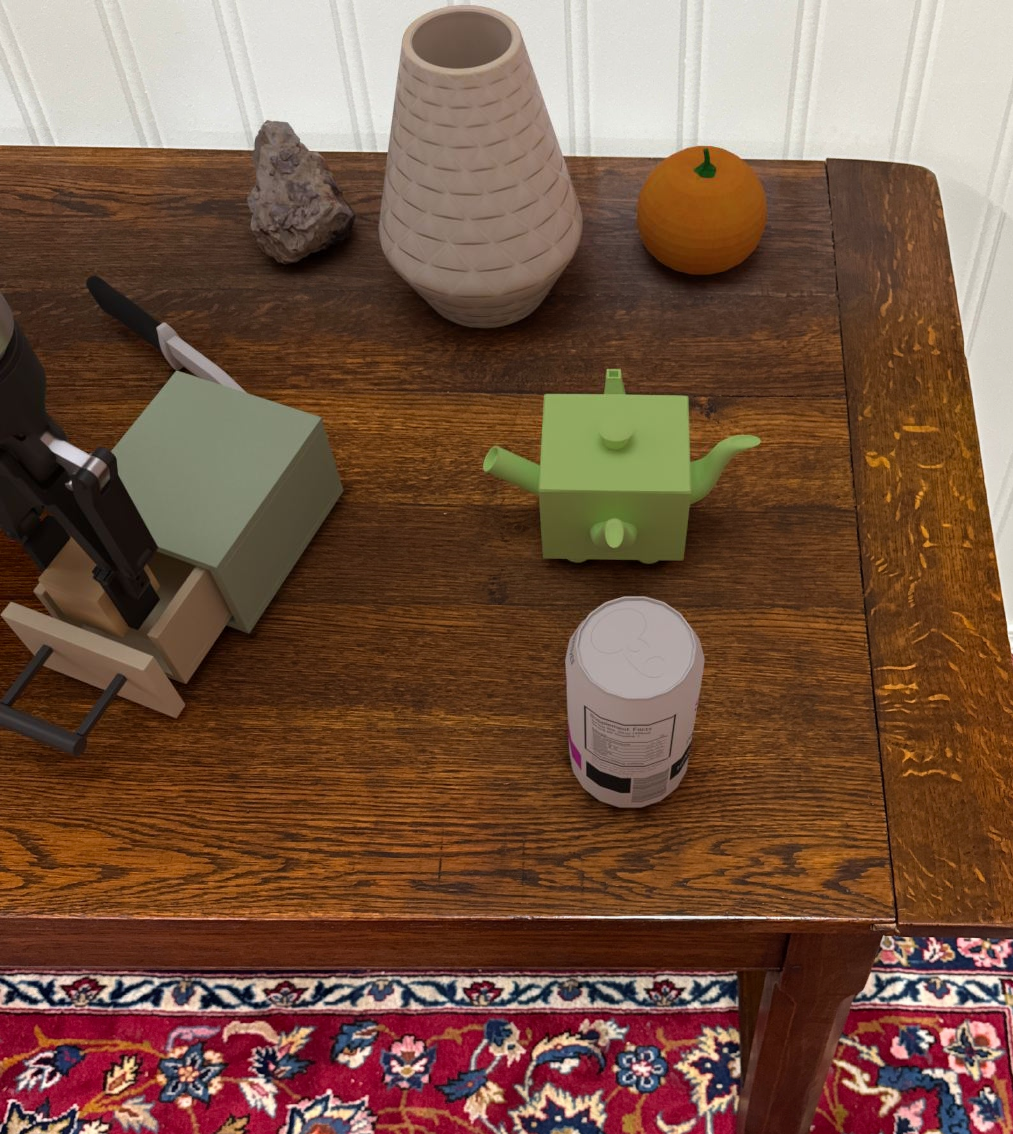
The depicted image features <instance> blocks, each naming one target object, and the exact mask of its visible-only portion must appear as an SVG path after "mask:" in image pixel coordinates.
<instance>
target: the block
mask: <svg viewBox="0 0 1013 1134" xmlns="http://www.w3.org/2000/svg"><path fill="white" fill-rule="evenodd" d="M95 566H96V564H95V563H94V562H93V560H92V559H91V558H90V557H89V556H88V555H87V554H86V553H85V551H84V550H83V549H82V548H81V547H80V546H79V545H78V544H77V542H76V541H75V540H74V539H73V538H72V537H71V536H70V539H69V541H68V542H67V543H66V545H65V546H64V547H63V548H62V550H61V551H60V552H59V553H58V555H57V556H56V557H55V558H54V560H53V561H52V562H51V563H50V565H49V566H48V567H47V569H46V570H45V571H44V572H43V573H42V572H41V575H39V577H38V579H37V580H38V582H39V583H41V584H42V586H43V587H44V588H45V590H46V591H47V592H48V594H49V595H50V596H51V598H52V599H53V600H54V602H55V603H56V604H57V606H58V607H59V608H60V610H61V611H62V612H63V614H64V615H65V616H66V617H67V618H69V619H72V620H74V621H77V622H80V623H82V624H85V625H87V626H90V627H93V628H95V629H98V630H100V631H103V632H106V633H108V634H111V635H113V636H116V637H119V638H121V639H123V638H124V636H125V635H126V634H127V632H128V631H129V629H130V627H129V626H128V625H127V623H126V622H125V620H124V619H123V617H122V616H121V614H120V613H119V611H118V610H117V608H116V607H115V605H114V604H113V602H112V601H111V599H110V598H109V596H108V595H107V593H106V592H105V591H104V589H103V588H102V586H101V585H100V583H99V582H97V581H96V580H94V579H93V578H92V577H93V576H94V574H93V573H92V570H93V569H94V568H95ZM144 570H145V572H146V573H147V575H148V577H149V578H150V583H151V585H152V586H153V588H154V590H155V591H156V592H157V591H158V589H159V588H160V585H159V583H158V582H157V580H156V578H155V577H154V575H153V573H152V572H151V570H150V568H149V566H148V565H147V564H146V566H145V567H144Z"/></svg>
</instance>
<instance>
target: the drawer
mask: <svg viewBox="0 0 1013 1134" xmlns="http://www.w3.org/2000/svg"><path fill="white" fill-rule="evenodd" d="M147 565H148V566H149V568H150V570H151V572H152V573H153V575H154V577H155V578H156V580H157V582H158V583H159V585H160V588H159V589H158V591H157V592H156V593H157V595H158V596H159V598H160V600H159V602H158V603H157V605H156V606H155V607H154V609H153V610H152V612H151V613H150V614H149V616H148V617H147V619H146V620H145V621H144V623H143V624H142V625H141V627H140V628H139V630H135V629H133V628H130V629H129V631H128V632H127V634H126V635H125V636H124V638H123V639H121V638H119V637H116V636H113V635H111V634H108V633H106V632H103V631H100V630H98V629H95V628H93V627H90V626H87V625H85V624H82V623H80V622H77V621H74V620H72V619H69V618H67V617H66V616H65V615H64V614H63V612H62V611H61V610H60V608H59V607H58V606H57V604H56V603H55V602H54V600H53V599H52V598H51V596H50V595H49V594H48V592H47V591H46V590H45V588H44V587H43V586H42V584H41V583H40V582H39V583H38V584H37V585H36V586H35V588H34V589H33V591H32V592H33V593H34V595H35V596H36V597H37V598H38V600H39V601H40V602H41V603H42V605H43V606H44V607H45V608H44V609H46V610H47V611H48V613H49V614H50V615H47V614H45V613H42V612H40V611H37V610H34V609H32V608H29V607H26V606H24V605H22V604H19V603H16V602H13V601H10V602H9V603H8V604H7V606H6V607H5V608H4V609H3V611H2V612H1V613H0V616H1V618H2V619H3V620H4V621H5V623H6V624H7V625H8V626H9V627H10V628H11V630H12V631H13V632H14V633H15V634H16V636H17V637H18V638H19V640H21V642H22V643H23V644H24V645H25V647H26V648H27V649H28V651H30V653H31V654H33V657H32V658H31V660H30V661H29V662H28V663H27V665H26V666H25V668H24V669H23V670H22V672H21V673H20V674H19V676H18V677H17V678H16V680H15V681H14V682H13V684H12V685H11V686H10V687H9V688H8V690H7V691H6V693H5V694H4V695H3V696H2V698H0V727H1V728H5V729H7V730H9V731H12V732H14V733H16V734H19V735H21V736H23V737H26V738H29V739H30V740H33V741H36V742H38V743H41V744H43V745H45V746H47V747H49V748H52V749H55V750H57V751H60V752H62V753H64V754H67V755H70V756H72V757H74V758H77V757H80V756H81V755H83V754H84V752H86V750H87V747H88V737H89V735H90V733H91V732H92V731H93V729H94V728H95V726H96V725H97V724H98V723H99V721H100V720H101V718H102V716H103V715H104V714H105V712H106V711H107V709H108V708H109V707H110V705H111V704H112V702H113V701H114V699H116V697H117V696H119V697H121V698H124V699H126V700H129V701H131V702H134V703H136V704H139V705H141V706H144V707H146V708H148V709H151V710H153V711H156V712H159V713H161V714H164V715H166V716H169V717H171V718H175V719H177V718H178V717H179V716H180V714H181V712H182V711H183V709H184V708H185V707H186V704H185V702H184V700H183V699H182V697H181V696H180V695H179V693H178V691H177V690H176V688H175V687H174V685H173V683H172V682H171V681H170V679H171V680H173V681H177V682H179V683H181V684H185V685H187V683H188V682H189V681H190V680H191V678H192V677H193V675H194V673H195V672H196V670H198V667H199V666H200V665H201V663H202V662H203V660H204V658H205V657H206V656H207V655H208V653H209V651H210V650H211V648H212V647H213V646H214V643H215V642H216V641H217V640H218V638H219V637H220V635H221V634H222V632H223V630H224V629H225V628H226V626H227V625H226V624H227V623H228V621H229V620H230V619H231V617H232V616H233V615H232V613H231V611H230V609H229V607H228V605H227V603H226V601H225V599H224V597H223V595H222V593H221V591H220V589H219V587H218V585H217V583H216V581H215V579H214V577H213V575H212V574H211V572H210V570H207V569H204V568H201V567H199V566H196V565H193V564H190V563H188V562H185V561H182V560H179V559H177V558H174V557H171V556H168V555H166V554H163V553H160V552H157V551H156V552H155V553H154V555H153V556H152V558H151V559H150V560H149V562H148V563H147ZM42 667H45V668H48V669H50V670H53V671H55V672H58V673H60V674H62V675H65V676H68V677H70V678H73V679H76V680H77V681H81V682H83V683H86V684H88V685H91V686H92V687H95V688H99V689H101V690H103V692H102V694H101V695H100V697H99V698H98V699H97V701H96V702H95V703H94V705H93V706H92V708H91V709H90V710H89V712H88V714H87V715H86V716H85V718H84V719H83V720H82V722H81V724H80V725H79V726H78V728H77V729H76V730H75V732H74V731H72V730H69V729H67V728H65V727H62V726H59V725H57V724H55V723H52V722H49V721H47V720H45V719H42V718H39V717H38V716H35V715H32V714H30V713H27V712H25V711H22V710H20V709H18V708H15V707H13V706H14V705H15V704H16V702H17V701H18V699H20V696H21V695H22V694H23V693H24V692H25V690H26V688H27V687H28V686H29V685H30V683H31V682H32V681H33V679H34V678H35V677H36V675H37V674H38V673H39V671H40V670H41V669H42Z"/></svg>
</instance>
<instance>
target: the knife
mask: <svg viewBox="0 0 1013 1134" xmlns="http://www.w3.org/2000/svg"><path fill="white" fill-rule="evenodd" d="M85 285H86V288H87V289H88V291H89V293H90V295H91V296H92V298H93V299H94V301H95V302H96V303H97V305H98V307H100V309H101V310H102V311H103V312H105V313H106V314H107V315H109V316H111V317H112V318H114V319H115V320H117V322H119V323H121V324H122V325H124V326H125V327H126V328H127V329H128V330H130V331H131V332H133V333H134V334H135V335H136V336H138V337H139V338H141V339H142V340H143V341H145V342H146V343H148V344H149V345H151V346H152V347H153V348H154V349H156V350H157V351H159V352H160V353H161V354H162V355H163V356H164V358H165V360H166V361H167V362H168V364H169V365H170V366H171V367H172V369H174V370H175V371H180V370H181V369H183V368H185V369H186V370H188V371H189V372H190V373H192V374H194V376H195V377H198V378H202V379H205V380H208V381H211V382H214V383H217V384H220V385H223V386H226V387H229V388H233V389H236V390H239V391H242V392H245V393H247V392H246V391H245V390H244V389H243V388H242V387H241V386H240V385H239V384H238V383H237V382H236V381H235V380H234V379H233V378H232V377H231V376H230V375H229V374H228V373H226V372H225V371H224V370H223V369H222V368H220V367H219V366H218V365H217V364H215V362H213V361H211V360H210V359H209V358H207V357H206V356H204V355H203V354H202V353H200V352H199V351H198V350H197V349H195V348H194V347H192V345H190V344H189V343H187V342H186V341H184V340H183V339H182V338H181V337H180V335H179V334H178V333H177V332H176V331H175V330H174V329H173V327H171V325H170V324H167V322H162V323H160V322H159V321H158V320H157V319H156V318H155V317H153V316H152V315H151V314H150V313H148V312H147V311H145V310H144V309H143V308H142V307H141V306H139V305H138V304H136V303H135V302H134V301H132V300H131V299H130V298H129V297H127V296H126V295H125V294H123V293H122V292H120V291H119V290H117V289H116V288H114V287H113V286H111V285H110V284H109V283H108V282H106V281H105V280H104V279H103V278H101V277H100V276H98V275H90V276H89V277H87V279H86V281H85Z"/></svg>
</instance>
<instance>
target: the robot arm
mask: <svg viewBox="0 0 1013 1134" xmlns="http://www.w3.org/2000/svg"><path fill="white" fill-rule="evenodd" d="M27 338H28V337H26V335H25V333H24V331H23V330H22V328H21V326H20V325H19V323H18V322H17V321H16V319H15V318H14V314H13V310H12V308H11V307H10V305H9V303H8V301H7V300H6V298H5V297H4V295H3V293H2V291H1V290H0V528H1V530H2V532H3V534H4V535H5V536H6V537H7V538H9V539H11V540H13V541H16V542H19V543H20V544H21V547H22V548H23V549H24V551H25V553H27V555H28V556H29V558H30V559H31V561H33V563H34V564H35V566H36V567H37V569H38V570H39V571H40V573H41V574H42V573H43V572H44V571H45V570H46V569H47V567H48V566H49V565H50V563H51V562H52V561H53V560H54V558H55V557H56V556H57V555H58V553H59V552H60V551H61V550H62V548H63V547H64V546H65V545H66V543H67V542H68V541H69V539H70V538H71V537H72V538H73V539H74V540H75V541H76V542H77V544H78V545H79V546H80V547H81V548H82V549H83V550H84V551H85V553H86V554H87V555H88V556H89V557H90V558H91V559H92V560H93V562H94V563H95V564H96V566H95V568H94V569H93V570H92V573H93V574H94V576H93V577H92V578H93V579H94V580H96V581H97V582H99V583H100V585H101V586H102V588H103V589H104V591H105V592H106V593H107V595H108V596H109V598H110V599H111V601H112V602H113V604H114V605H115V607H116V608H117V610H118V611H119V613H120V614H121V616H122V617H123V619H124V620H125V622H126V623H127V625H128V626H129V627H130V628H133V629H135V630H139V628H140V627H141V625H142V624H143V623H144V621H145V620H146V619H147V617H148V616H149V614H150V613H151V612H152V610H153V609H154V607H155V606H156V605H157V603H158V602H159V600H160V598H159V596H158V595H157V593H156V591H155V590H154V588H153V586H152V585H151V583H150V578H149V577H148V575H147V573H146V572H145V570H144V567H145V566H146V564H147V563H148V562H149V560H150V559H151V558H152V556H153V555H154V553H155V552H156V551H157V549H158V546H157V544H156V542H155V540H154V539H153V537H152V535H151V533H150V531H149V529H148V528H147V526H146V524H145V522H144V520H143V519H142V517H141V515H140V513H139V511H138V510H137V508H136V506H135V504H134V502H133V501H132V499H131V497H130V495H129V493H128V491H127V490H126V488H125V486H124V484H123V482H122V481H121V479H120V477H119V475H118V466H117V459H116V456H115V455H114V454H113V453H112V452H111V451H112V450H110V449H108V448H107V447H105V446H102V445H101V446H100V445H99V446H96V448H95V449H94V450H93V452H90V453H87V452H85V451H84V450H82V449H80V448H78V447H76V446H74V445H73V444H71V443H69V438H68V435H67V433H66V432H65V430H64V429H63V428H62V426H60V424H58V423H57V422H56V421H55V420H54V418H53V417H51V415H50V414H49V413H48V412H47V406H46V405H47V404H46V401H47V399H46V398H47V386H48V385H47V384H48V383H47V376H46V372H45V368H44V366H43V364H42V362H41V360H40V359H39V357H38V355H37V354H36V352H35V350H34V348H33V346H32V345H31V344H30V342H29V339H27ZM46 510H47V511H48V512H49V513H50V514H46V516H45V517H44V518H43V519H40V517H41V516H42V515H44V513H45V511H46Z"/></svg>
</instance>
